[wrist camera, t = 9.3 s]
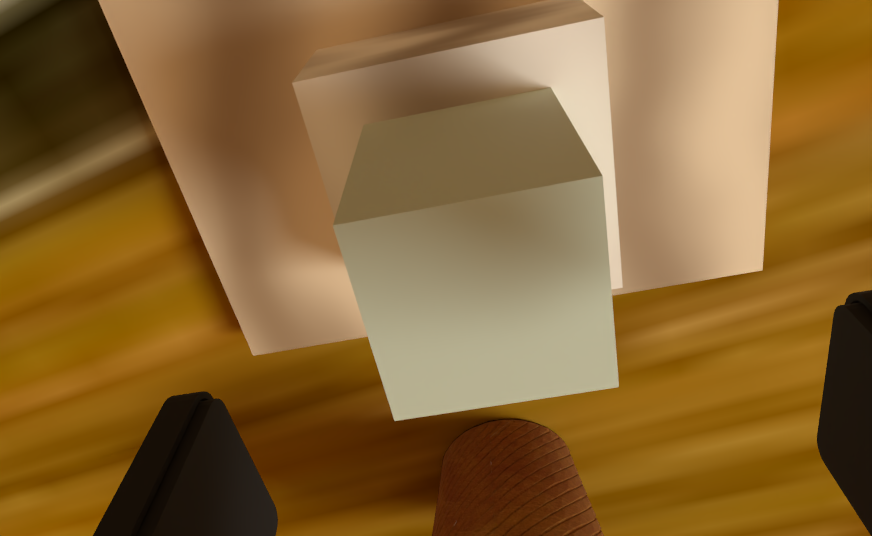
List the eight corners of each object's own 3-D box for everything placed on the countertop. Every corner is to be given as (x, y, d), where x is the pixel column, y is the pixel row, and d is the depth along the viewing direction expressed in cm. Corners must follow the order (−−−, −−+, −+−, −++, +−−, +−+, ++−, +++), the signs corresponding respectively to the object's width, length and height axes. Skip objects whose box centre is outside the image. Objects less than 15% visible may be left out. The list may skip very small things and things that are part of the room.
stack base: (763, -169, 19) (877, -189, 14) (745, 250, 25) (817, 333, 21) (114, -17, 21) (18, 11, 16) (262, 333, 27) (225, 426, 23)
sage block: (550, 87, 17) (602, 175, 12) (569, 252, 19) (619, 386, 14) (363, 124, 17) (332, 225, 12) (405, 281, 20) (394, 421, 15)
